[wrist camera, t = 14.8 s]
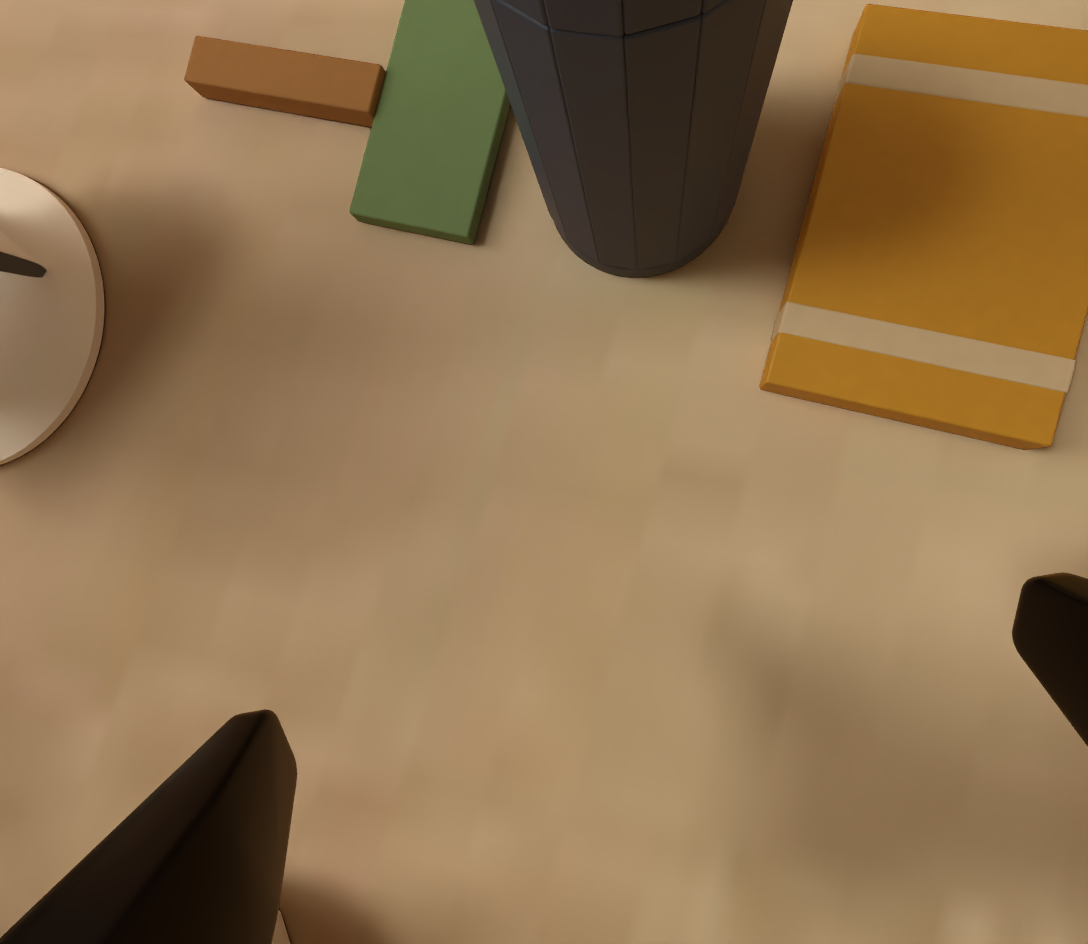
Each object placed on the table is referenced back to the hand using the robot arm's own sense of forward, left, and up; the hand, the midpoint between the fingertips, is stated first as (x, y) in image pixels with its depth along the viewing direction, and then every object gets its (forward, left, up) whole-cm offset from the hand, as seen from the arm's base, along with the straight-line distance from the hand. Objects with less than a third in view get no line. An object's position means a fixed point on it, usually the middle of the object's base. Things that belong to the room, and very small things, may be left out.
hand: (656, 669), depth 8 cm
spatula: (+14, -12, -12) cm, 22 cm away
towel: (-5, -11, -12) cm, 17 cm away
